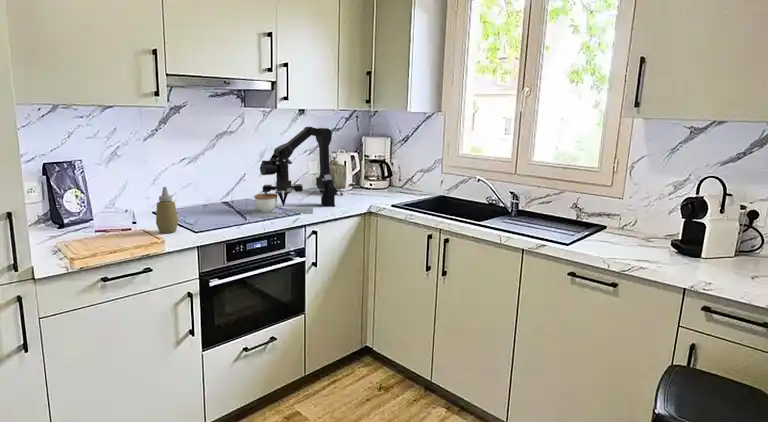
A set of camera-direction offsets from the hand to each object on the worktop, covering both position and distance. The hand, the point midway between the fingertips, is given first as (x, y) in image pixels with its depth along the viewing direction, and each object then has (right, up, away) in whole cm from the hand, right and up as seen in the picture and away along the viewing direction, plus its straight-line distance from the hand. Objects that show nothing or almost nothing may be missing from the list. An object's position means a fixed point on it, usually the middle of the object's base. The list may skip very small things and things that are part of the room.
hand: (283, 205), depth 240 cm
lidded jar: (-8, -3, 0) cm, 9 cm away
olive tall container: (+19, +7, +51) cm, 55 cm away
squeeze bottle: (-37, -11, -43) cm, 58 cm away
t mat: (0, -3, +1) cm, 3 cm away
